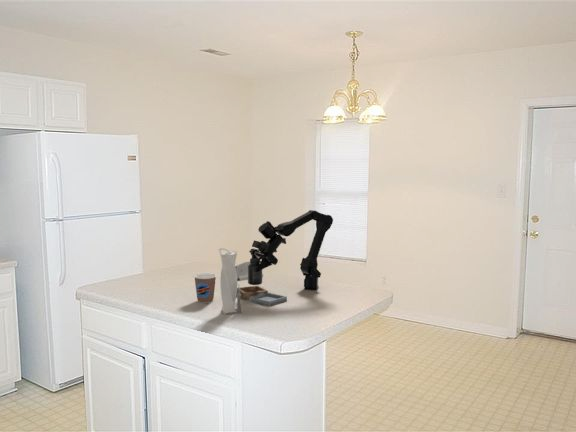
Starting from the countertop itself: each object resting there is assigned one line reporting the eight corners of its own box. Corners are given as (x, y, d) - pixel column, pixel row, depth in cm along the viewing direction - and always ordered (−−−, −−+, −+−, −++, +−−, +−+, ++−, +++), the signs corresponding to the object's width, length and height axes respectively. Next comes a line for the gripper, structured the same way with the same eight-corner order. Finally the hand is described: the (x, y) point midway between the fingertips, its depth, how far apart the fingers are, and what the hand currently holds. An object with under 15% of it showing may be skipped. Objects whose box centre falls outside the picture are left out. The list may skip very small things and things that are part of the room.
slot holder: (258, 291, 255) (258, 285, 255) (267, 296, 245) (267, 290, 244) (235, 293, 250) (235, 287, 250) (244, 299, 239) (244, 293, 239)
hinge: (239, 280, 279) (236, 262, 281) (235, 282, 283) (231, 264, 284) (263, 276, 290) (260, 259, 291) (259, 278, 293) (255, 261, 295)
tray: (267, 296, 245) (267, 292, 245) (286, 300, 238) (286, 296, 237) (249, 301, 236) (249, 297, 236) (269, 306, 228) (269, 301, 228)
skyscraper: (222, 315, 214) (222, 250, 211) (217, 310, 221) (216, 247, 219) (241, 313, 217) (241, 248, 215) (236, 308, 225) (235, 246, 222)
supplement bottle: (247, 281, 247) (247, 257, 245) (261, 281, 247) (262, 257, 246) (247, 285, 240) (247, 260, 239) (262, 285, 241) (262, 260, 239)
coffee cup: (190, 303, 232) (190, 277, 231) (198, 297, 242) (198, 273, 241) (212, 304, 230) (212, 278, 229) (219, 298, 240) (219, 273, 239)
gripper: (252, 232, 251) (232, 256, 246) (272, 236, 235) (251, 262, 231) (266, 246, 256) (247, 270, 251) (286, 251, 240) (266, 277, 236)
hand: (252, 270), depth 242 cm, fingers closed on supplement bottle, 7 cm apart
